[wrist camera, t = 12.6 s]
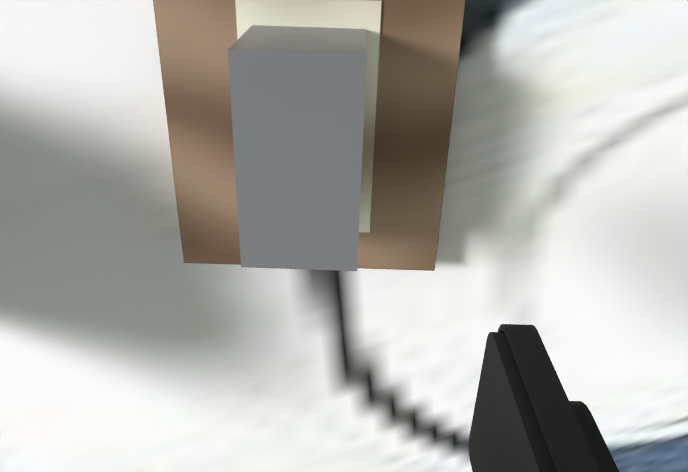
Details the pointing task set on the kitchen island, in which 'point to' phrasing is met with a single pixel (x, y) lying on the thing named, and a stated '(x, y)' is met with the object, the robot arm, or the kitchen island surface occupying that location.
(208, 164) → the pin board
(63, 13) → the kitchen island surface
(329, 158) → the block
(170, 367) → the kitchen island surface
